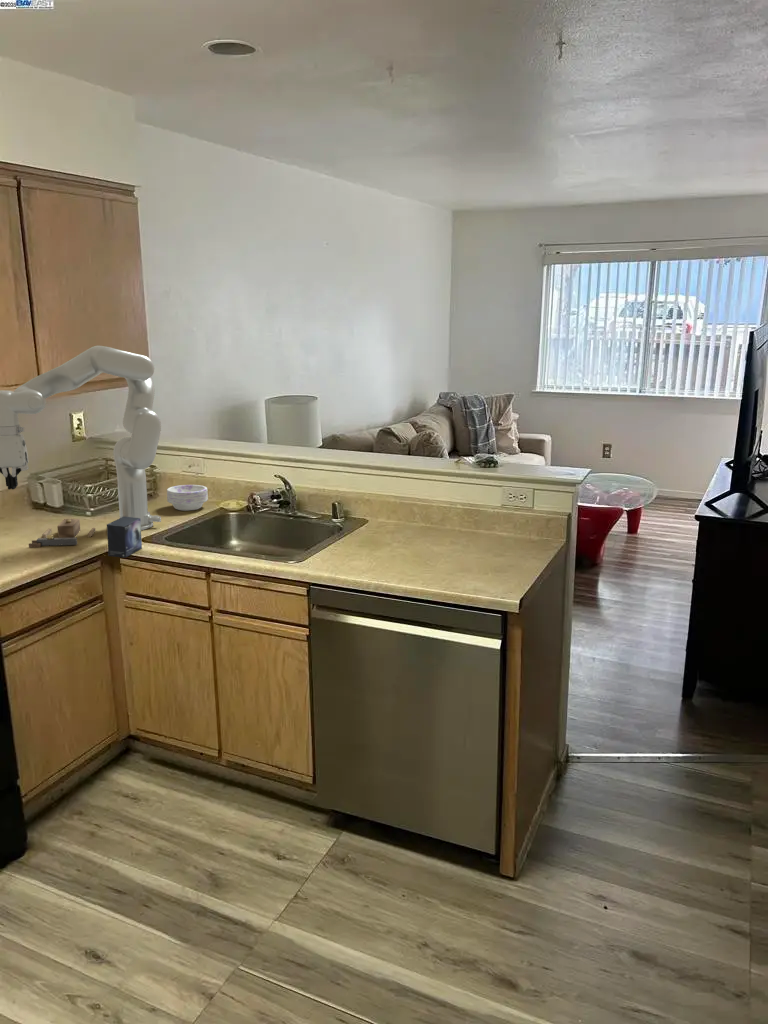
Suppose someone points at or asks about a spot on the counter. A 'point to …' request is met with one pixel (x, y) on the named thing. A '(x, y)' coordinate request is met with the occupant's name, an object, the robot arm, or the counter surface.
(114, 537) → the small box
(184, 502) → the paper bowls
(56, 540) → the bar
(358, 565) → the counter surface
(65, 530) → the cap block
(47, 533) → the bolt guide rails
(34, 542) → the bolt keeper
